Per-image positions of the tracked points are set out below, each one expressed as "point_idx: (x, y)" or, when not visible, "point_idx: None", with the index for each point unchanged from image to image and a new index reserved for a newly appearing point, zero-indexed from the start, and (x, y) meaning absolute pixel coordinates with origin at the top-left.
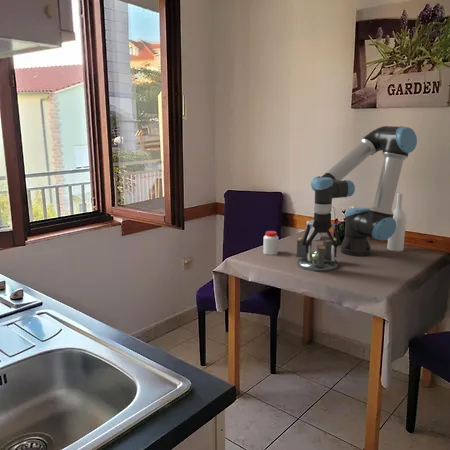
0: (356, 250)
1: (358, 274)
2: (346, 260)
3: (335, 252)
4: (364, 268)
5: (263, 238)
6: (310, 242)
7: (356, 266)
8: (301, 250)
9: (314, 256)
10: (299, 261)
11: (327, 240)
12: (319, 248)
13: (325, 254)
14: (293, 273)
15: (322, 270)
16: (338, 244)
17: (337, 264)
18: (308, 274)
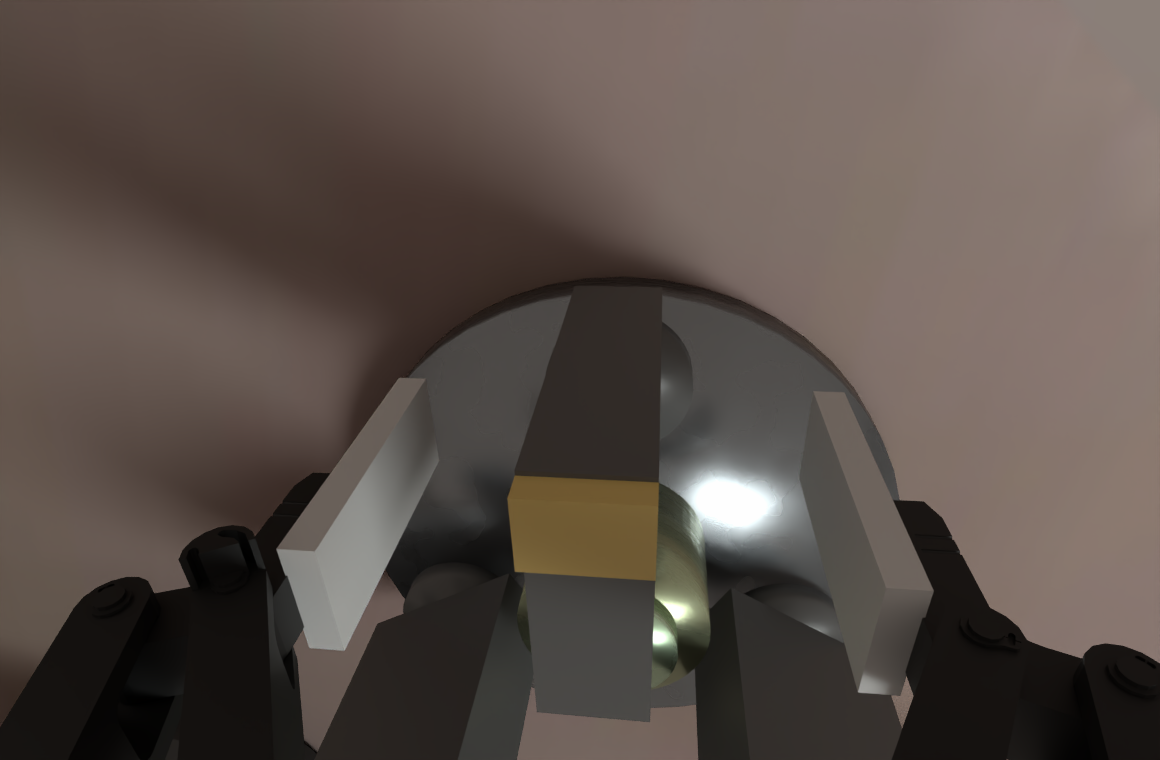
0: (168, 752)
1: (111, 160)
2: None
3: (314, 481)
4: (76, 382)
5: None
6: (928, 707)
7: (172, 446)
8: (850, 729)
9: (680, 565)
10: None
11: None
12: (657, 499)
13: (502, 627)
14: (1096, 186)
15: (601, 282)
16: (149, 598)
17: None
18: (852, 142)
